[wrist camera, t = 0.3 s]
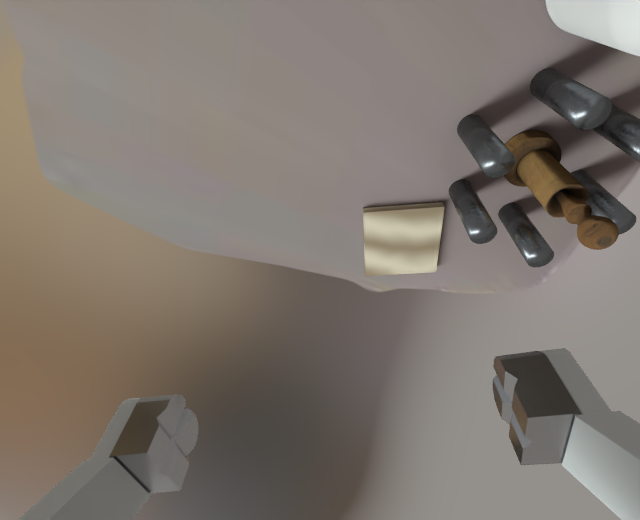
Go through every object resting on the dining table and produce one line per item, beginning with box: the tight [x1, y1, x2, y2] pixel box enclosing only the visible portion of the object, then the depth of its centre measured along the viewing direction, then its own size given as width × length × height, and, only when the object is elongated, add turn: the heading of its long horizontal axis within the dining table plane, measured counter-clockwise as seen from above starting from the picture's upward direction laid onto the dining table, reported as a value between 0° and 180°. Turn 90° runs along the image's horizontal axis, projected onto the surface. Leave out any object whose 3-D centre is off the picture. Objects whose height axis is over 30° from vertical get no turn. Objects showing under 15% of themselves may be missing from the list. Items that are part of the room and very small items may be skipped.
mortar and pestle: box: [504, 130, 619, 250], centre depth 39 cm, size 7×6×18 cm
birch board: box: [363, 202, 445, 276], centre depth 55 cm, size 12×11×1 cm
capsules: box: [449, 68, 640, 267], centre depth 42 cm, size 20×18×10 cm
